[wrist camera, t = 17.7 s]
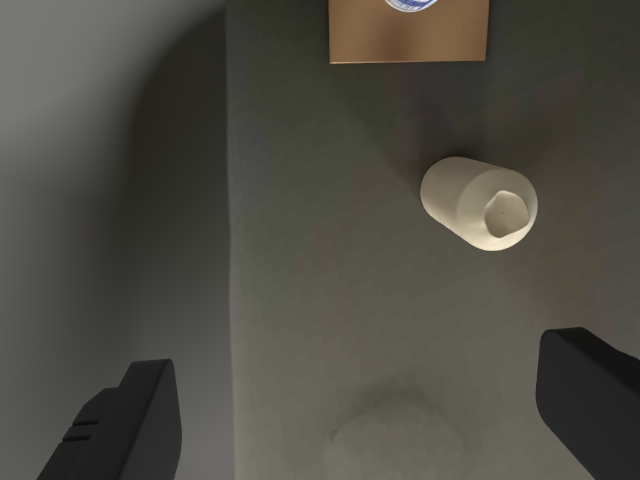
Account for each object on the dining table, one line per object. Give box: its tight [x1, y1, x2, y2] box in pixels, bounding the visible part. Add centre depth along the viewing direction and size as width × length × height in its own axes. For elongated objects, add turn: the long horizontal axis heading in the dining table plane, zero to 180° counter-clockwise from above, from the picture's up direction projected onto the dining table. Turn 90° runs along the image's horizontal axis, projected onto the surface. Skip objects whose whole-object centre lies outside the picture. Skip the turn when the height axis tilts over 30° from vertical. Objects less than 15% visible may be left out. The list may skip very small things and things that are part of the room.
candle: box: [420, 157, 537, 251], centre depth 35 cm, size 6×6×10 cm
